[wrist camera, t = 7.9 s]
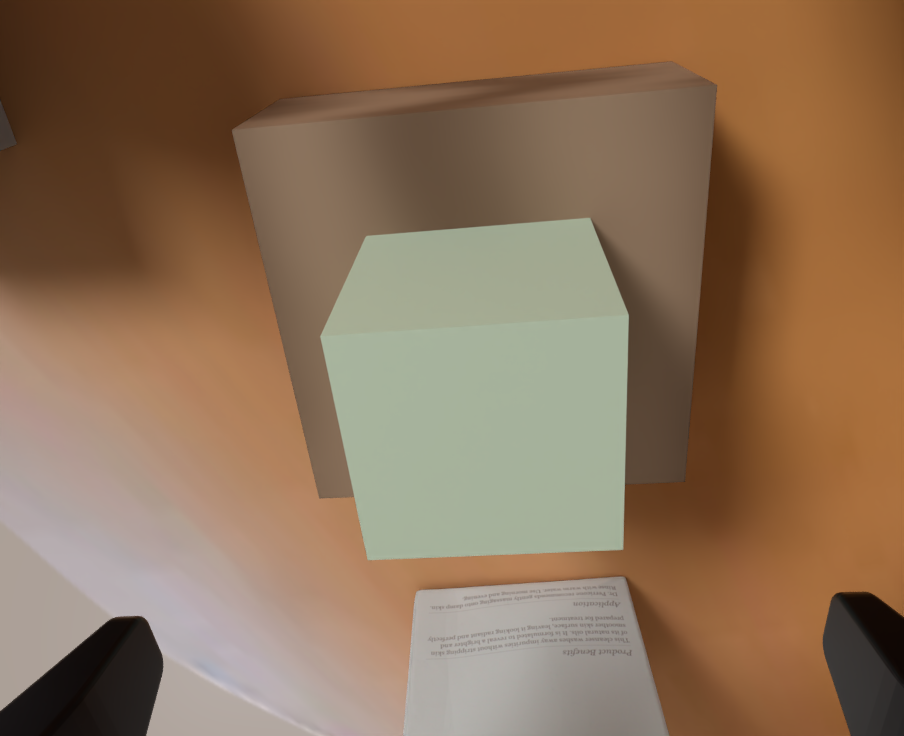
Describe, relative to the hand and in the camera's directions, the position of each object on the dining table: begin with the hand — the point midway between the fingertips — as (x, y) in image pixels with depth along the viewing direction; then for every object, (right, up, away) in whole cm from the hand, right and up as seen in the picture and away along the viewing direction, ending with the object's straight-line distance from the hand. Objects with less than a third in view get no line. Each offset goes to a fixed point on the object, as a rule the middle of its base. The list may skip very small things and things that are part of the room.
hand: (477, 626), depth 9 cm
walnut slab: (+1, +6, +11) cm, 13 cm away
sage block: (0, +4, +8) cm, 9 cm away
